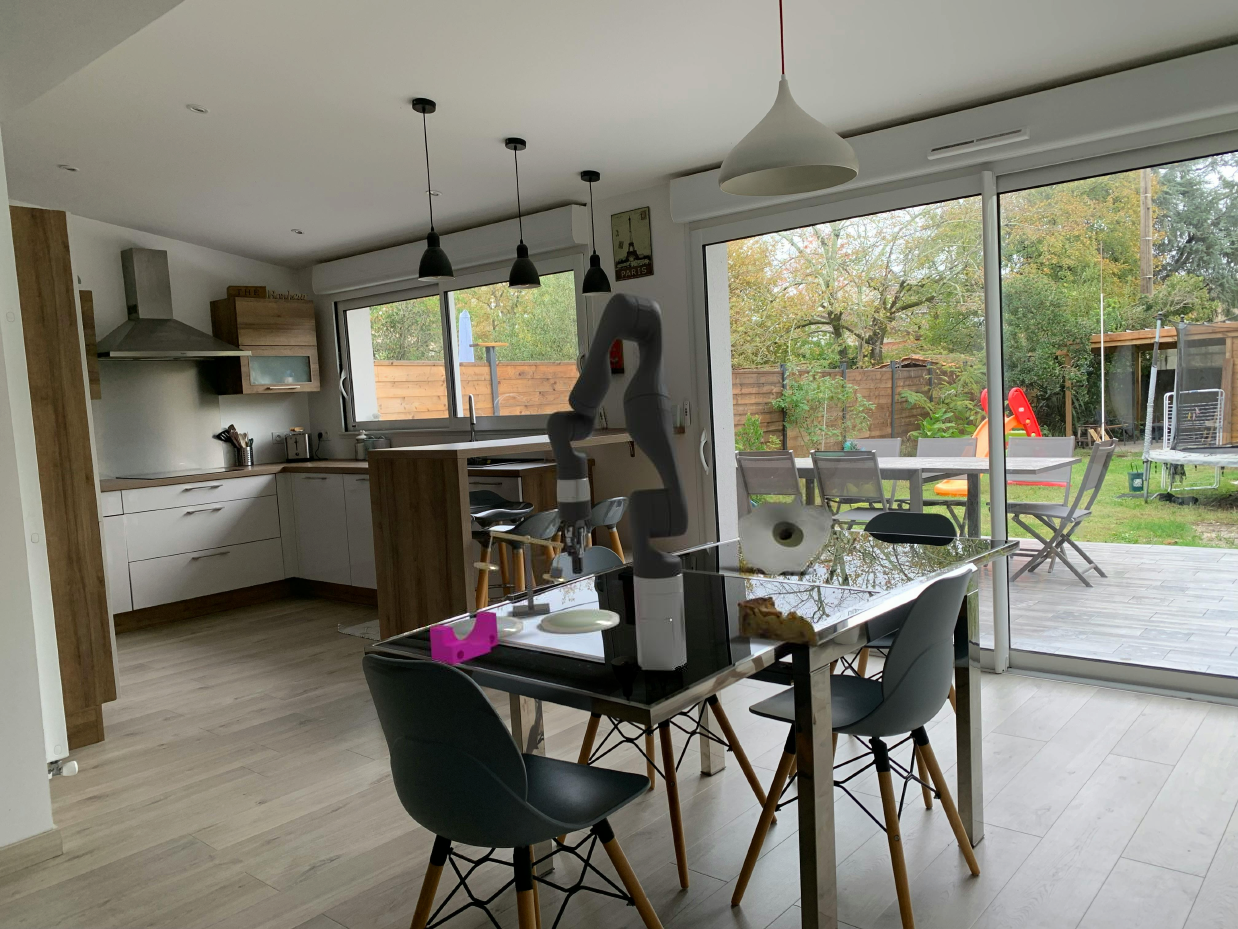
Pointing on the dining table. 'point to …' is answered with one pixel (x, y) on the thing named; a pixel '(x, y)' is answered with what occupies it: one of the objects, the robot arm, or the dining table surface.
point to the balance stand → (530, 592)
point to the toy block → (464, 640)
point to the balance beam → (555, 570)
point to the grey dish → (504, 627)
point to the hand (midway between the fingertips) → (578, 573)
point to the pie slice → (773, 623)
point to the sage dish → (579, 621)
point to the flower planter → (783, 535)
